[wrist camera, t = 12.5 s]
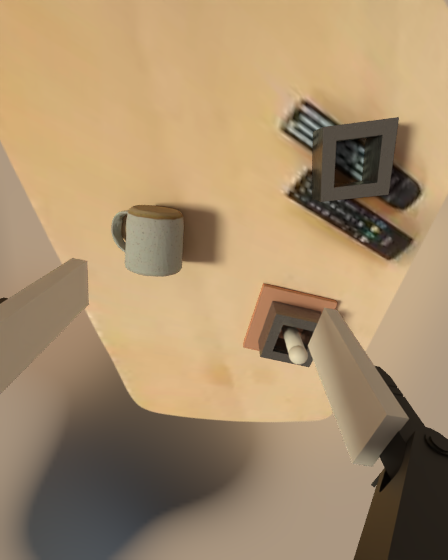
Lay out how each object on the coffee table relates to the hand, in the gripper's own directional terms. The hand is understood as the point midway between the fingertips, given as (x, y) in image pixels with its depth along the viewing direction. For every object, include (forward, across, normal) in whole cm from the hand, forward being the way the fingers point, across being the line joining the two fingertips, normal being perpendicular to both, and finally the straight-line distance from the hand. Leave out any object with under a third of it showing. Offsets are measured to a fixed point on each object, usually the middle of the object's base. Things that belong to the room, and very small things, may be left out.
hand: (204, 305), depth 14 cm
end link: (+23, +14, -15) cm, 31 cm away
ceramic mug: (+25, -10, -5) cm, 27 cm away
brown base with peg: (+24, +14, -15) cm, 32 cm away
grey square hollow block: (+25, +14, +10) cm, 30 cm away
